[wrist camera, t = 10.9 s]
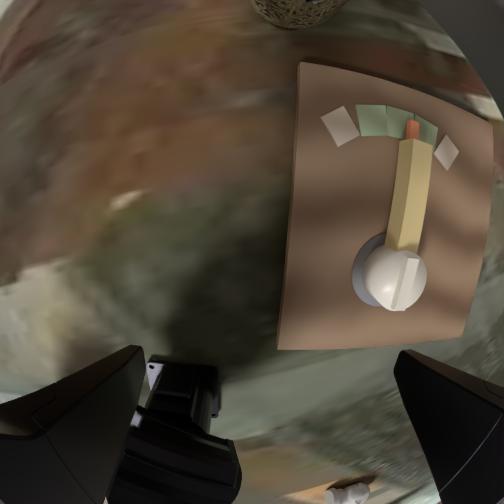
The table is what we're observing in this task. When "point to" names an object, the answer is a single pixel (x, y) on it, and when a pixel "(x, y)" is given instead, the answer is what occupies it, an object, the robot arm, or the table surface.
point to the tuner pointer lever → (403, 230)
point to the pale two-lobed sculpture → (348, 494)
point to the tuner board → (378, 211)
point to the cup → (296, 12)
